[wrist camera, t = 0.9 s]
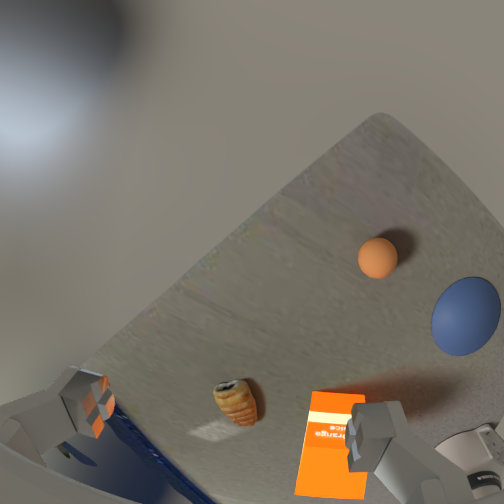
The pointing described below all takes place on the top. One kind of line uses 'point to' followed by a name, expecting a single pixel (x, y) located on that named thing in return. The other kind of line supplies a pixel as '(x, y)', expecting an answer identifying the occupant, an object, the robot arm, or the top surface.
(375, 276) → the ball
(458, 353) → the blue flat disc
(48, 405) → the robot arm
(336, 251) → the top surface
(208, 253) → the top surface
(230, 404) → the pastry
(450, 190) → the top surface
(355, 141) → the top surface
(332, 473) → the orange juice
